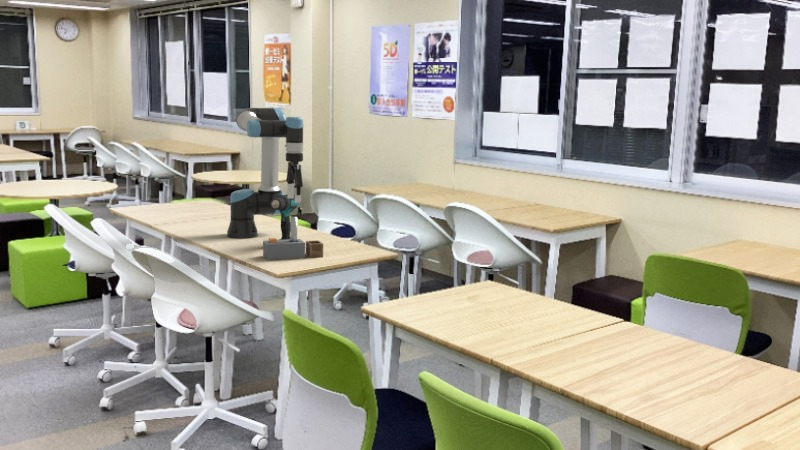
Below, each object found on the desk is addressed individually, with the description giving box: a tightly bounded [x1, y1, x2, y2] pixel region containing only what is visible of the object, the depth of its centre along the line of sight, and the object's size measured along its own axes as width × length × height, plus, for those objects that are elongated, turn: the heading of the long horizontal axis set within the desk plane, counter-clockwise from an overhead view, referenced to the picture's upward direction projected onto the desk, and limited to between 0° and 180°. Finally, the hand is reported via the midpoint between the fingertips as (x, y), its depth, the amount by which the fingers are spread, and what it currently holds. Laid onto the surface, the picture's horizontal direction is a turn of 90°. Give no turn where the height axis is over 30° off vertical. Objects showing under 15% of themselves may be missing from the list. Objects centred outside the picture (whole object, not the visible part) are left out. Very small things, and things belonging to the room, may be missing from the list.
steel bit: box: [290, 216, 298, 242], centre depth 322 cm, size 3×3×18 cm
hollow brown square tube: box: [305, 240, 324, 258], centre depth 327 cm, size 8×6×6 cm
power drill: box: [270, 193, 299, 240], centre depth 341 cm, size 26×9×25 cm, turn 168°
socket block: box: [262, 238, 306, 261], centre depth 321 cm, size 9×17×7 cm, turn 112°
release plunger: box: [268, 237, 278, 243], centre depth 319 cm, size 3×3×8 cm
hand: (294, 200), depth 319 cm, fingers open, 13 cm apart
